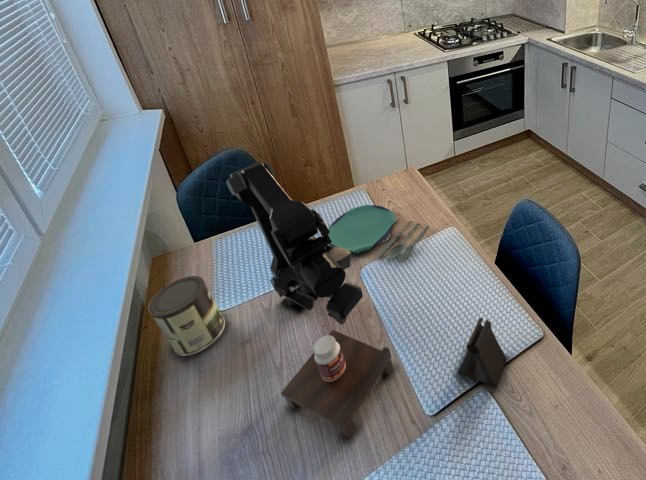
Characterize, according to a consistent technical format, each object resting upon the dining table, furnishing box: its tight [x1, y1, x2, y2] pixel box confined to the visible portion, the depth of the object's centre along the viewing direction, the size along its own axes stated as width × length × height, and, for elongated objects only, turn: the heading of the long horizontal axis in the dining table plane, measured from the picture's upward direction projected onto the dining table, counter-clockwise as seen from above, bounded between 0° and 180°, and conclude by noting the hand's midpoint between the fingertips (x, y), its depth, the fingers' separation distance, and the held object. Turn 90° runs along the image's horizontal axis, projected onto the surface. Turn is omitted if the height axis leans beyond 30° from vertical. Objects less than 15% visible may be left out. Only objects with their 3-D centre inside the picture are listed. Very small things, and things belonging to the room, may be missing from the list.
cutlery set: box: [328, 204, 430, 264], centre depth 123 cm, size 20×30×2 cm, turn 67°
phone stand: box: [457, 317, 507, 388], centre depth 85 cm, size 9×6×12 cm, turn 70°
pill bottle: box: [313, 334, 346, 382], centre depth 82 cm, size 5×5×8 cm
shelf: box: [280, 329, 394, 440], centre depth 84 cm, size 16×14×7 cm
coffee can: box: [147, 275, 226, 357], centre depth 94 cm, size 10×10×14 cm
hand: (327, 315), depth 87 cm, fingers open, 9 cm apart
